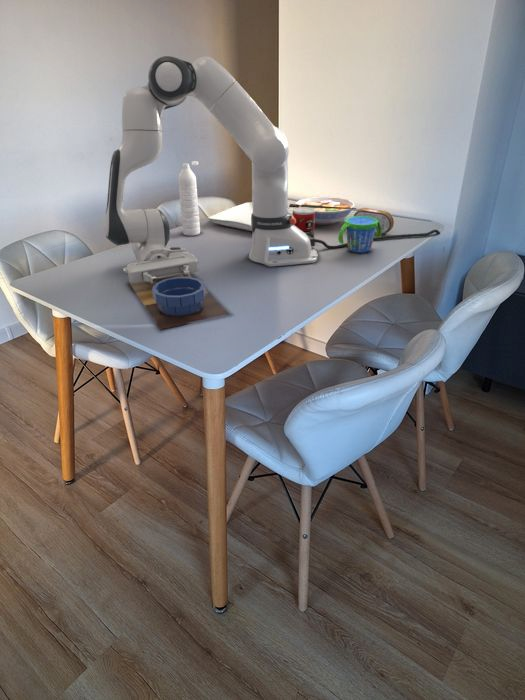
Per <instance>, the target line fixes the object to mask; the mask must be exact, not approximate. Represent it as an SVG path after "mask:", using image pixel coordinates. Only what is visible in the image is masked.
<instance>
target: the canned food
mask: <svg viewBox="0 0 525 700" xmlns="http://www.w3.org/2000/svg"><path fill="white" fill-rule="evenodd" d="M292 209H293V216H294V218H295V219H296V223H295V226H296V227H297V228H299V229H300V230H301V231H303V232H304V233H306V234H307V235H309V236H311V237H313V238H315V224H316V223H315V210H314V209H313V208H310V207H293V208H292Z"/></svg>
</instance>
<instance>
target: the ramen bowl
mask: <svg viewBox="0 0 525 700" xmlns="http://www.w3.org/2000/svg"><path fill="white" fill-rule="evenodd" d="M355 206H356V205H355V203H354V201H352V200H350V199H346V198H341V197H335V196H313V197H305V198H302V199H299V200H298V201H296V202H295V203H290V204H288V208H297V207H310V208H313V209H314V210H315V223H314V224H315V225H319V226H331V225H333V224H335V223H338V222H340V221H342V220H344V219H346V217H347V216H348V215H350V213H351V212H352V211H353V210H357V207H355Z"/></svg>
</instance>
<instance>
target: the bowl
mask: <svg viewBox="0 0 525 700" xmlns="http://www.w3.org/2000/svg"><path fill="white" fill-rule="evenodd" d="M192 277H193V276H192ZM192 277H174V278H169V279H164V280H162V281H160V282H158V283H156V284H155V285H154V286H153V288H152V293H153V299H154V300H155V302H156V303H157V304H158V309H159V310H161V311H162V312H163V313H164V314H167V315H171V316H185V315H190V314H193V313H195V312H196V311H198V310H199V309H201V307H202V304H203V299H204V298H205V295H206V291H207V288H206V283H205V282H204V281H203V280H202V279H200V278H196V277H193V278H192ZM173 288H174V289H173ZM192 288H193V289H192ZM168 289H169V290H168ZM166 290H167V291H166Z"/></svg>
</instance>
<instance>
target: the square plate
mask: <svg viewBox="0 0 525 700" xmlns="http://www.w3.org/2000/svg"><path fill="white" fill-rule="evenodd" d="M293 209H294V208H291V207H288V213H290V214H291V213H292V215H293ZM252 213H253V207H252V202H249V201H248V202H244V203H242V204H239V205H236V206H232V207H230V208H227V209H225V210H222V211H220V212H217V213H215V214H212V215H210V216H207V218H206V219H208V220H209V222H211V223H213V224H216V225H222V226H223V227H228V228H234V229H238V230H243V231H248V232H252V229H251V215H252Z"/></svg>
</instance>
